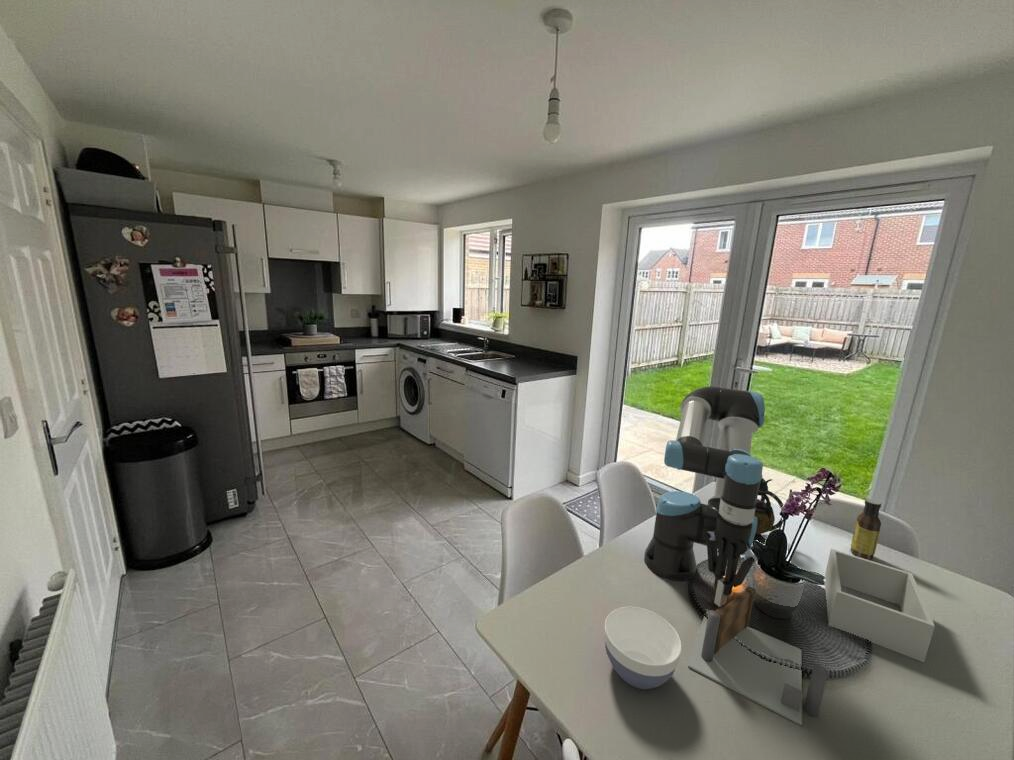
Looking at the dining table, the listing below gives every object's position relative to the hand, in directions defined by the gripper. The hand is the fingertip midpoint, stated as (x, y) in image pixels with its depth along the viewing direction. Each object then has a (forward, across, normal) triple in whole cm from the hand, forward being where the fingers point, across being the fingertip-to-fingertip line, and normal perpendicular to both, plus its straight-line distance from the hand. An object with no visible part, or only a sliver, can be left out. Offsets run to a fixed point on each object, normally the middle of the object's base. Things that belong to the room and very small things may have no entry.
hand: (720, 602), depth 104 cm
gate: (+5, +5, -3) cm, 7 cm away
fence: (+6, +11, -3) cm, 13 cm away
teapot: (+6, -20, +46) cm, 51 cm away
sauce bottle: (+6, +4, +75) cm, 75 cm away
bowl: (+7, 0, -29) cm, 30 cm away
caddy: (+6, +17, +42) cm, 45 cm away
